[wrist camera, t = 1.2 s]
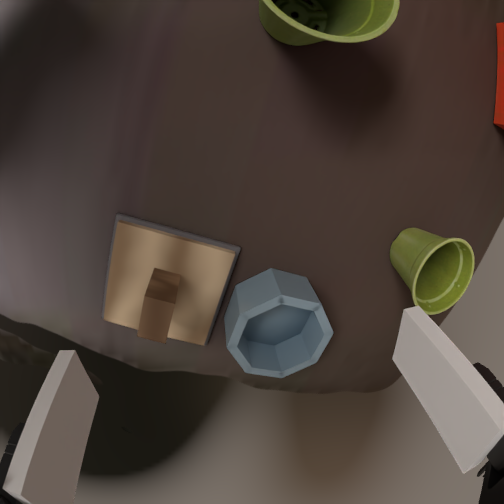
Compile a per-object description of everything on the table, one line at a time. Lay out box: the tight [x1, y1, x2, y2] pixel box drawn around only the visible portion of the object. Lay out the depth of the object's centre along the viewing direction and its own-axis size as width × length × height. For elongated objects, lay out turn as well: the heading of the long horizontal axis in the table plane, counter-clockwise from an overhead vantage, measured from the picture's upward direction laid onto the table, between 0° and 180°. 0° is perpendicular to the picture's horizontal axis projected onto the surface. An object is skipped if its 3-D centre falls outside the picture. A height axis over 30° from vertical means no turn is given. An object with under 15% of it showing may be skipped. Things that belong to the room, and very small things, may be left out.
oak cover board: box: [104, 220, 235, 345], centre depth 32 cm, size 13×13×7 cm
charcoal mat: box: [102, 213, 241, 345], centre depth 35 cm, size 14×14×1 cm
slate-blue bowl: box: [224, 268, 334, 378], centre depth 36 cm, size 11×11×6 cm
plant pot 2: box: [390, 228, 474, 315], centre depth 34 cm, size 9×9×9 cm
